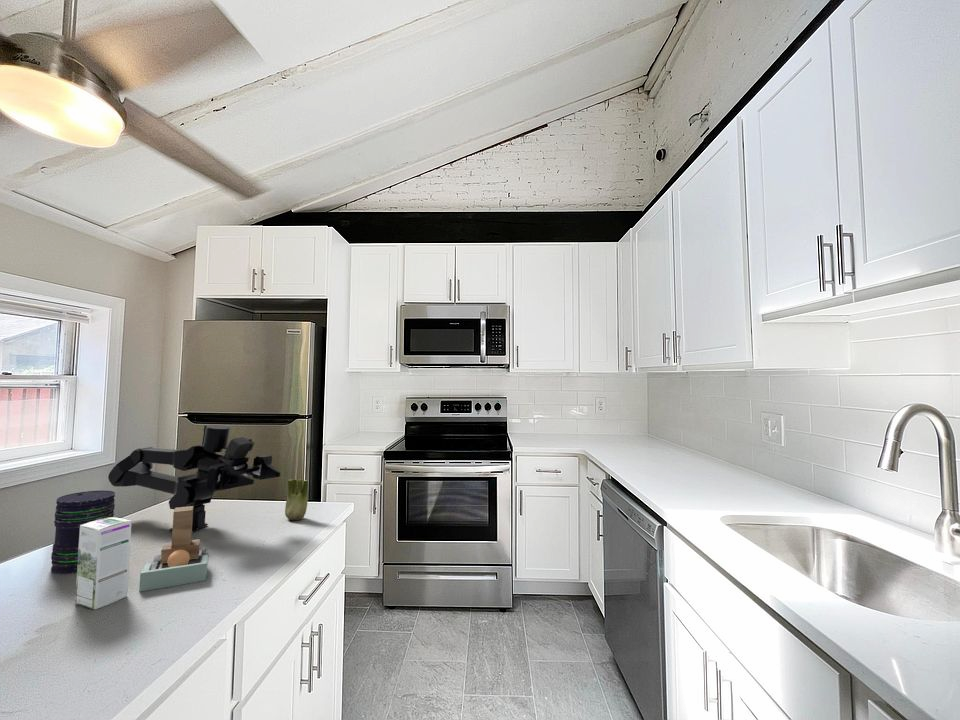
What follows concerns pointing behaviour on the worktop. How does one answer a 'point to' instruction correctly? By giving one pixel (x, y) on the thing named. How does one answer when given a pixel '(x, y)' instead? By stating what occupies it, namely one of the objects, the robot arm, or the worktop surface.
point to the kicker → (181, 535)
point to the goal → (172, 575)
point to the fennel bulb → (296, 500)
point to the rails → (157, 558)
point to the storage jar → (76, 525)
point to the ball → (178, 558)
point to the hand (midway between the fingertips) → (267, 478)
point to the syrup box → (103, 562)
